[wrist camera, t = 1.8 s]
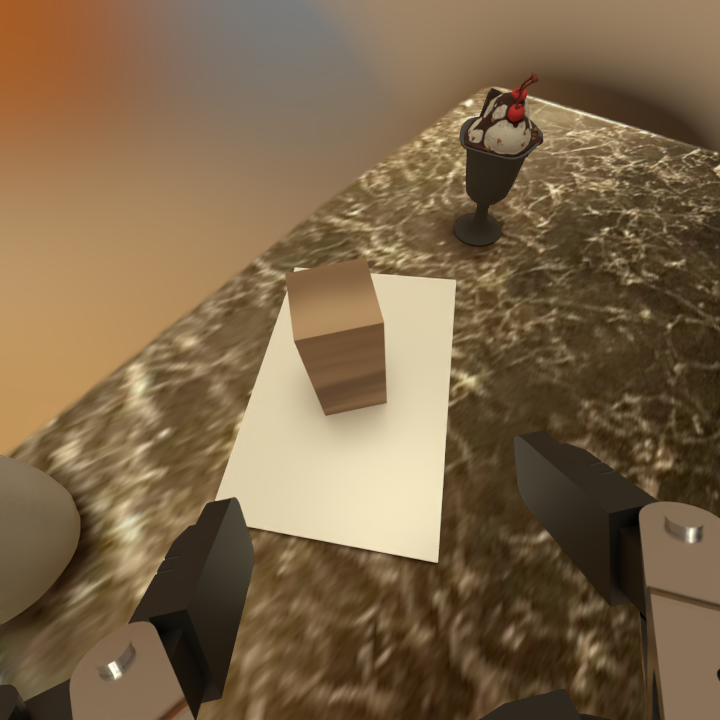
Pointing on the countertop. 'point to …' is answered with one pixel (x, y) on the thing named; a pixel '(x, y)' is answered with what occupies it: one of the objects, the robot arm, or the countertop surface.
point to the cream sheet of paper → (353, 436)
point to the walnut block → (339, 334)
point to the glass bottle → (32, 534)
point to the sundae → (495, 158)
